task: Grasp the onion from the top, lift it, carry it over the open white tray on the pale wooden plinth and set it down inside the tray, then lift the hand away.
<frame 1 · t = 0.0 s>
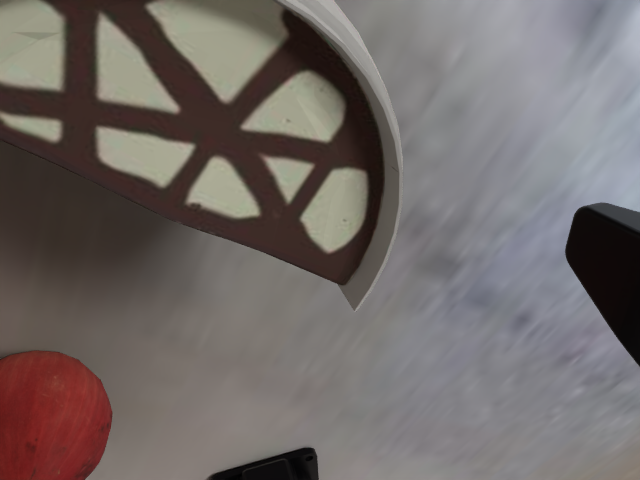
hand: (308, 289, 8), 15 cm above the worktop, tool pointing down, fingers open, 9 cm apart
food container: (189, 11, 20), on the worktop
onion: (43, 356, 26), on the worktop
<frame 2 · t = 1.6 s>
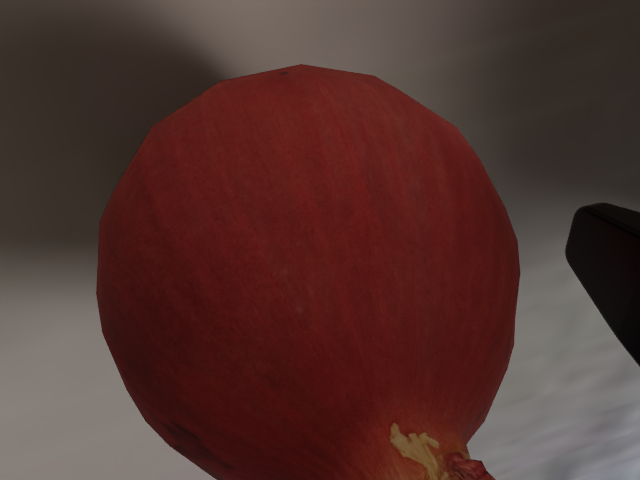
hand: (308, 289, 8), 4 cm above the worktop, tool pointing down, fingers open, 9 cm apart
onion: (253, 159, 11), on the worktop
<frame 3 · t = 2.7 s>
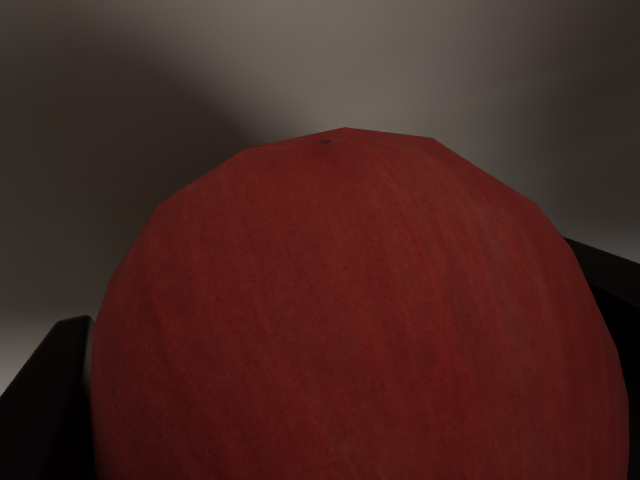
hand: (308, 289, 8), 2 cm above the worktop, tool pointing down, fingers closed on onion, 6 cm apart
onion: (272, 212, 10), on the worktop, touching gripper
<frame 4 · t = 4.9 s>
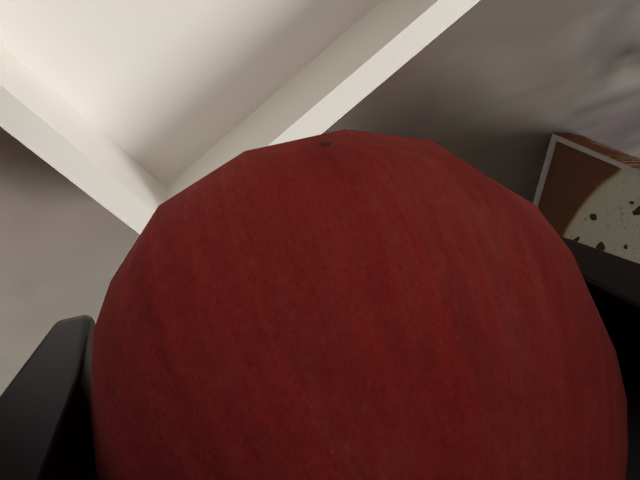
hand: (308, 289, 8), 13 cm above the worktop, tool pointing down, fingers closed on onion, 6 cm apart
food container: (577, 216, 28), on the worktop
onion: (271, 213, 10), point 10 cm above the worktop, touching gripper
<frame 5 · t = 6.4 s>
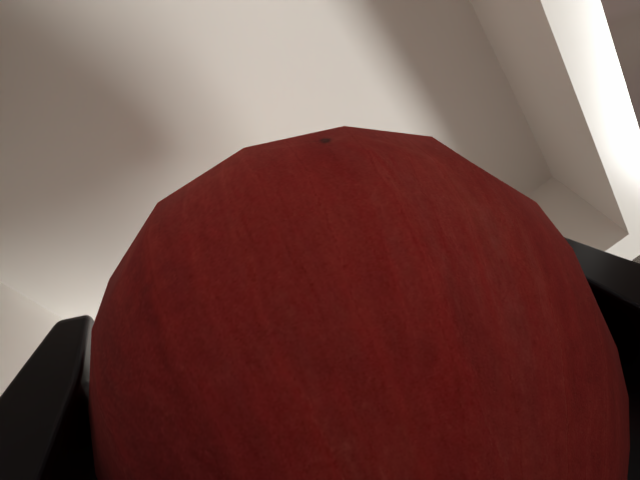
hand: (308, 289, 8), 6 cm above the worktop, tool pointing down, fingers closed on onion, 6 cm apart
open white tray: (239, 131, 12), on the worktop
onion: (271, 211, 10), point 3 cm above the worktop, touching gripper
when the fingers open (5 cm above the worktop, at t = 7.2 s): onion drops 1 cm, resting on open white tray.
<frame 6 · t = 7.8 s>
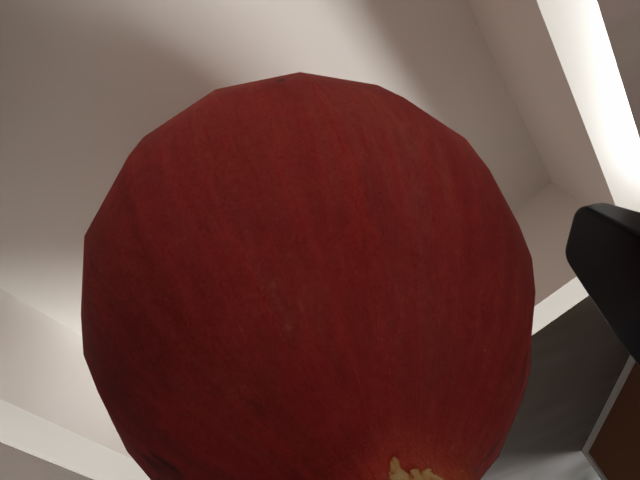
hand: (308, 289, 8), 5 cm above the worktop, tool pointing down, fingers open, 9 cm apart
open white tray: (239, 136, 13), on the worktop
onion: (256, 178, 11), point 2 cm above the worktop, touching open white tray
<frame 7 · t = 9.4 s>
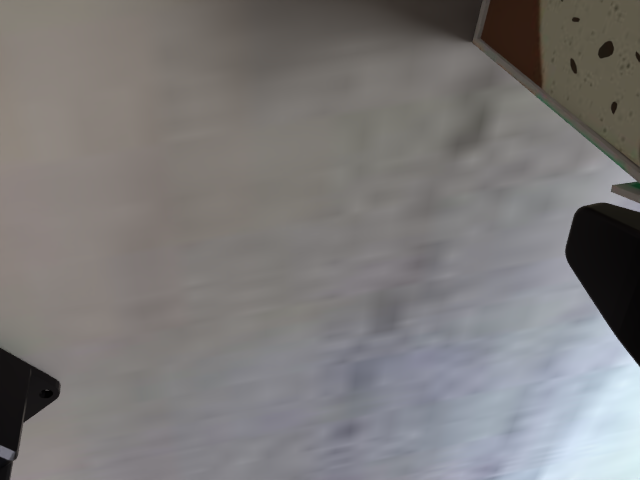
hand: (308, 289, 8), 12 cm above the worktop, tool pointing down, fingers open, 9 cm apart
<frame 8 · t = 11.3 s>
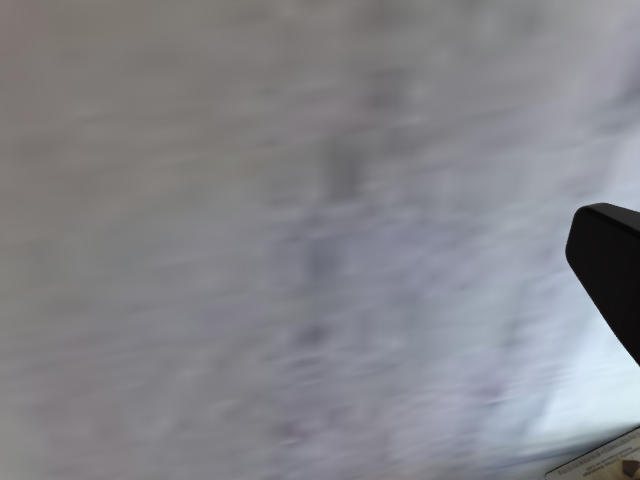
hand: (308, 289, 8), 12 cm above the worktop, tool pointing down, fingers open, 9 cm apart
coffee box: (596, 464, 43), on the worktop
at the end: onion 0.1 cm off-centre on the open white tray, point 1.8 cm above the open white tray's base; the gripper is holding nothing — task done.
